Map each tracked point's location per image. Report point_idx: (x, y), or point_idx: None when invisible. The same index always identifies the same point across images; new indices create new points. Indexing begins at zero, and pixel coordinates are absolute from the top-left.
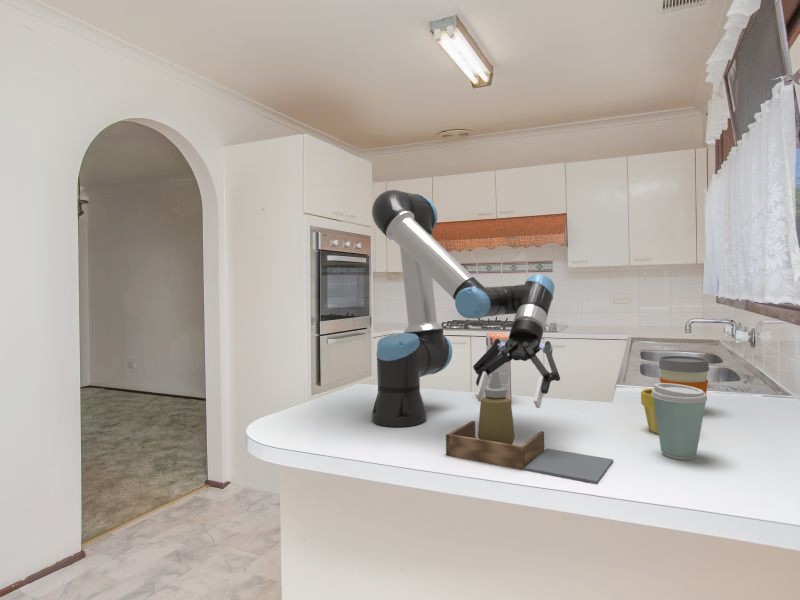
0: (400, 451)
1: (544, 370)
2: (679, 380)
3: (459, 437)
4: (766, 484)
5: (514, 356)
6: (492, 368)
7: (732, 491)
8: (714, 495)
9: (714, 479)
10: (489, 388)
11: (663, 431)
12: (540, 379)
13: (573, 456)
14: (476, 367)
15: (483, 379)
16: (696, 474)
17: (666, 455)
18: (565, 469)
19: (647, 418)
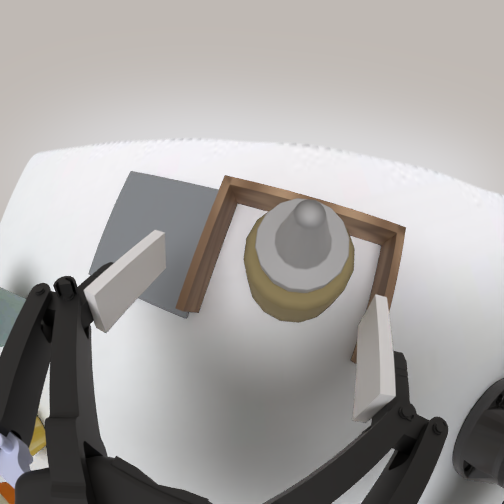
0: (462, 241)
1: (63, 314)
2: (3, 498)
3: (373, 216)
4: (4, 235)
5: (192, 494)
6: (345, 449)
7: (28, 205)
8: (43, 188)
9: (25, 235)
10: (328, 224)
11: (11, 302)
12: (100, 281)
13: None
14: (432, 423)
15: (378, 356)
16: (31, 247)
17: None
18: (162, 203)
19: (35, 437)
